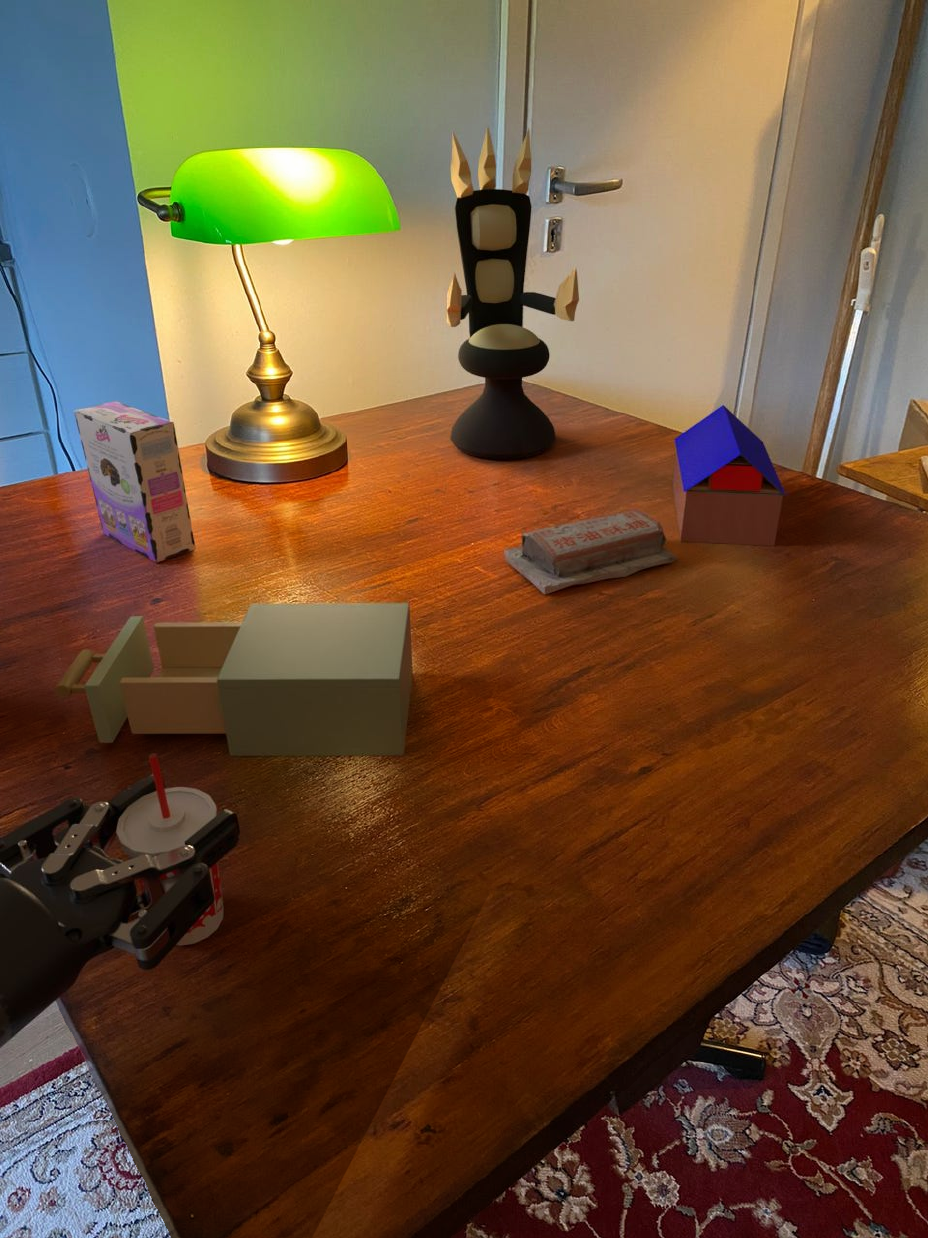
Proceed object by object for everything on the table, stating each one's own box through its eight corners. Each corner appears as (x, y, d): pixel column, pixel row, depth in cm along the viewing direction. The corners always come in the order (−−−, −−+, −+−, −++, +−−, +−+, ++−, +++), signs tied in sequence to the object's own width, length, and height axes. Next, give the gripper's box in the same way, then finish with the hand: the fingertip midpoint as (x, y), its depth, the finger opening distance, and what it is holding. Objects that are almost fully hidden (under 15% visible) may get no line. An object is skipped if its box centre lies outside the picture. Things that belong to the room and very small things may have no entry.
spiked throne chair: (453, 469, 136) (447, 128, 114) (428, 424, 155) (418, 124, 133) (573, 459, 139) (590, 125, 117) (534, 416, 158) (543, 122, 136)
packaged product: (631, 498, 113) (680, 527, 105) (627, 533, 115) (675, 565, 108) (502, 524, 106) (545, 558, 99) (502, 562, 109) (543, 597, 101)
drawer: (50, 743, 77) (32, 685, 74) (98, 669, 87) (85, 615, 84) (258, 742, 77) (249, 685, 74) (283, 668, 87) (276, 615, 84)
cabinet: (229, 756, 77) (216, 679, 73) (260, 673, 88) (250, 603, 84) (403, 755, 77) (399, 678, 73) (412, 672, 88) (409, 602, 84)
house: (755, 487, 129) (768, 406, 123) (777, 547, 112) (793, 456, 106) (669, 483, 130) (678, 403, 124) (678, 542, 113) (688, 452, 107)
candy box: (198, 550, 113) (176, 420, 105) (155, 565, 109) (129, 432, 101) (141, 519, 121) (116, 397, 113) (100, 533, 117) (71, 408, 109)
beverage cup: (181, 875, 65) (145, 716, 58) (253, 899, 63) (225, 738, 56) (122, 938, 60) (76, 773, 53) (198, 967, 58) (160, 799, 51)
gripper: (26, 1004, 42) (273, 796, 54) (-143, 883, 49) (111, 722, 61) (64, 1102, 46) (286, 886, 58) (-98, 978, 52) (133, 808, 65)
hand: (196, 803), depth 59 cm, fingers closed on beverage cup, 6 cm apart
